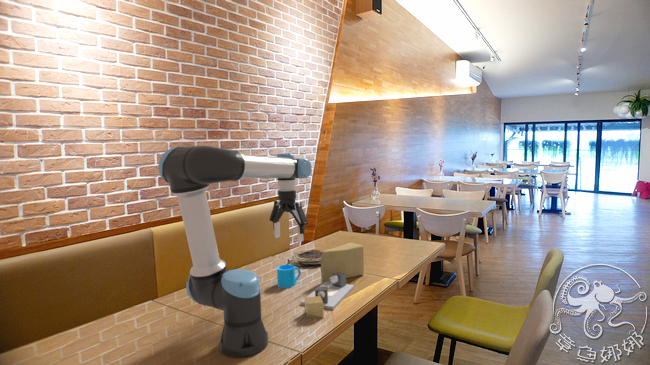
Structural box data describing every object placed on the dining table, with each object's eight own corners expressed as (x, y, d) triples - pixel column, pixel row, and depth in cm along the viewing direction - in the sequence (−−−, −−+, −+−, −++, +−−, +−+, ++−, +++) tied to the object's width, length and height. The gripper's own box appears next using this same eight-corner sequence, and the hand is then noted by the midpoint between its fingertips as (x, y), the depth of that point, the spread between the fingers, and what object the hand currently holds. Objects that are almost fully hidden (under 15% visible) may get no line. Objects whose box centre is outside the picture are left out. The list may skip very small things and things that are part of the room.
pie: (317, 252, 226) (317, 244, 225) (347, 263, 204) (347, 254, 204) (277, 262, 209) (276, 253, 208) (304, 275, 187) (304, 265, 187)
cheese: (328, 286, 169) (327, 254, 168) (316, 280, 177) (314, 249, 175) (364, 275, 182) (364, 244, 181) (351, 270, 190) (350, 241, 188)
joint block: (323, 317, 138) (323, 302, 138) (307, 319, 137) (306, 304, 137) (320, 311, 144) (320, 295, 144) (305, 312, 143) (304, 297, 142)
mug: (283, 289, 168) (282, 271, 167) (274, 284, 174) (273, 267, 173) (305, 282, 175) (305, 265, 174) (295, 278, 181) (295, 261, 181)
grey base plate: (333, 309, 144) (333, 306, 144) (301, 304, 150) (301, 301, 150) (354, 287, 166) (354, 284, 166) (325, 284, 172) (325, 281, 172)
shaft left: (327, 303, 148) (327, 290, 147) (315, 303, 148) (315, 290, 148) (328, 296, 155) (328, 284, 154) (317, 296, 155) (316, 284, 155)
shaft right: (338, 282, 170) (337, 271, 169) (346, 285, 166) (345, 273, 166) (327, 287, 165) (327, 275, 164) (335, 289, 161) (335, 278, 161)
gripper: (315, 190, 154) (316, 241, 156) (272, 187, 170) (274, 234, 171) (303, 192, 148) (304, 245, 150) (260, 189, 164) (262, 237, 165)
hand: (288, 239), depth 161 cm, fingers open, 13 cm apart
